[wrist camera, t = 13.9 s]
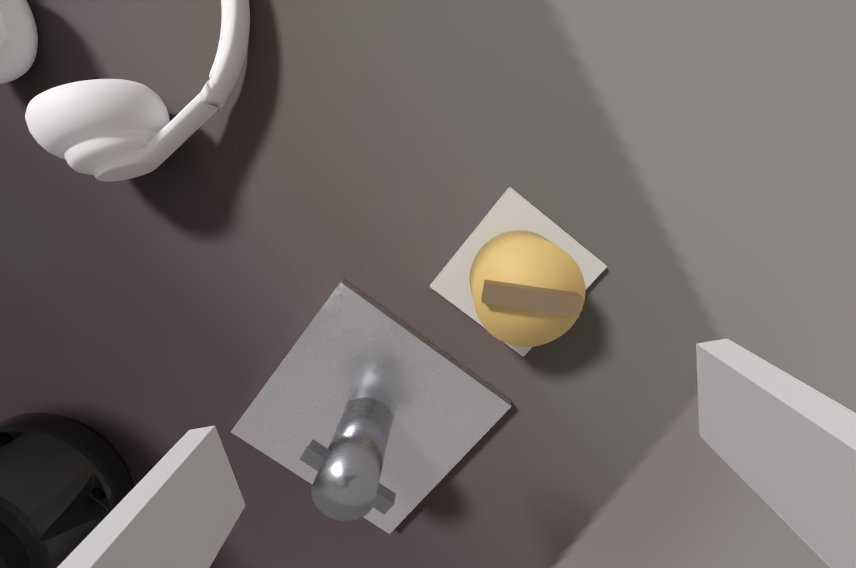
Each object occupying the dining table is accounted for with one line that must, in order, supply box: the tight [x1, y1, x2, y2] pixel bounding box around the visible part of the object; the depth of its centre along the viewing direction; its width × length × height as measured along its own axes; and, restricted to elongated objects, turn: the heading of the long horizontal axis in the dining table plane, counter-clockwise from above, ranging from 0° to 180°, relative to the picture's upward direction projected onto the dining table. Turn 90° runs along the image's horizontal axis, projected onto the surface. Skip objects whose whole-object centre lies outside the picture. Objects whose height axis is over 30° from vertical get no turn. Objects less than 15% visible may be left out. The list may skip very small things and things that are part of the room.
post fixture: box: [231, 279, 512, 534], centre depth 33 cm, size 18×18×10 cm
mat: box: [430, 187, 607, 357], centre depth 33 cm, size 10×10×1 cm
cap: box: [469, 230, 585, 347], centre depth 30 cm, size 8×8×6 cm
